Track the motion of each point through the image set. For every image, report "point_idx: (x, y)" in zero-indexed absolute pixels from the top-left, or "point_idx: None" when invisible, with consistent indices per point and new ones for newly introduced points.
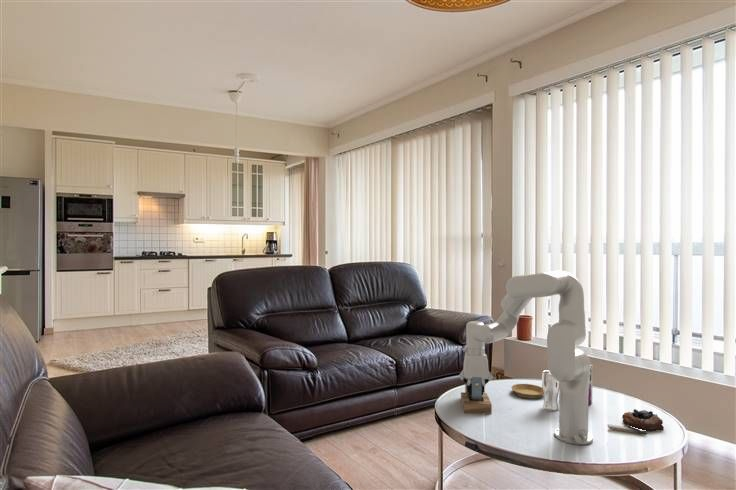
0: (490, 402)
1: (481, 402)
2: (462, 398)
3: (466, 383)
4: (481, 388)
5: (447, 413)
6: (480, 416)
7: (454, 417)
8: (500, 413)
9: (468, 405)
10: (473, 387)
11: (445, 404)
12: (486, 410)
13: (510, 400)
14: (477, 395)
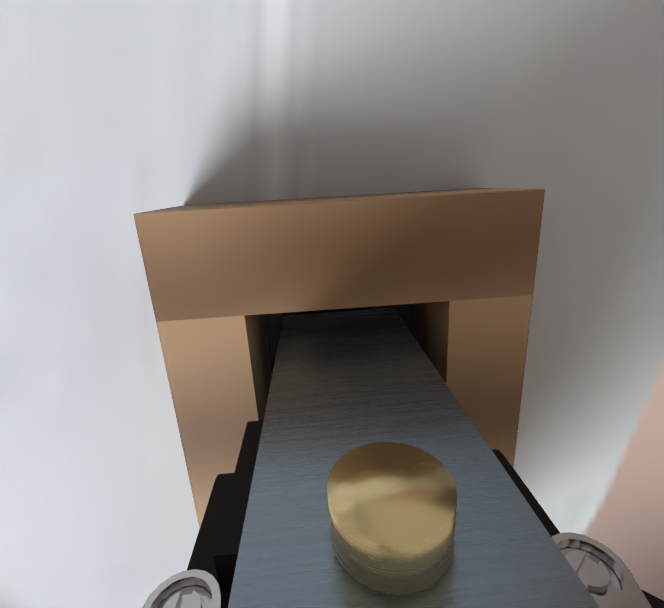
0: (153, 277)
1: (285, 256)
2: (515, 391)
3: (630, 590)
4: (260, 458)
5: (660, 149)
6: (310, 103)
7: (614, 27)
8: (84, 231)
9: (468, 192)
10: (454, 459)
11: (616, 386)
12: (232, 203)
13: (16, 561)
14: (341, 371)
